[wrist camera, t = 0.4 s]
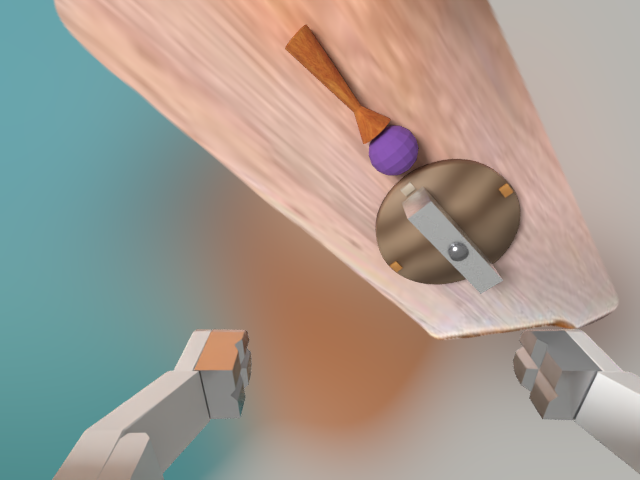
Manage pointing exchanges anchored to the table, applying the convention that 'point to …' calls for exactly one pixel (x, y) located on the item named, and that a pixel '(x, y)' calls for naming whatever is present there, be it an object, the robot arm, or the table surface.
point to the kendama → (358, 109)
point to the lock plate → (461, 205)
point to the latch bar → (450, 240)
